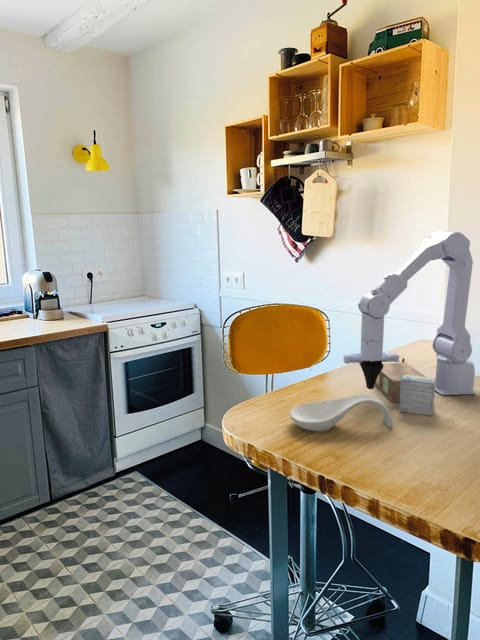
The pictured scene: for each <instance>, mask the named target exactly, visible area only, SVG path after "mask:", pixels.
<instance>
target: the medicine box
mask: <svg viewBox="0 0 480 640" xmlns="http://www.w3.org/2000/svg"><path fill="white" fill-rule="evenodd" d="M435 381H436V377H429V376H428V377H427V376H425V377H422V376H413V375H403V377H402V379H401V388H400V402H399V411H398V412H401V413H409V414H415V415H422V416H429V417H433V415H434V411H435V398H436V396H435V395H436V393H435V392H436V391H435Z"/></svg>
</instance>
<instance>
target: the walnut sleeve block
mask: <svg viewBox="0 0 480 640" xmlns="http://www.w3.org/2000/svg"><path fill="white" fill-rule="evenodd" d="M382 364H383V369H382V370H381V372H380V373H381V375H380V386H379V385H378V384H377V383H376V382H375V385H374V387H376V389H378V390H379V391H380V392H381V393H382V394H383V395H384V397H386V398H387V399H388V400H389V401H390V402H391V403H400V388H401V379H402V377H403V375H413V376H422V377H426V375H424V374H423V373H421V372H420V371H418V370H417V369H415V368H414V367H412V366H411V365H410V364H409V363H408V362H406V363H405V362H404V363H402V362H401V363H400V362H392V363H391V362H388V363H382ZM384 377H386V378H387V379H388V380H390V381H389V394H387V393H386V392H385V391H384V390H383V378H384Z"/></svg>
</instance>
